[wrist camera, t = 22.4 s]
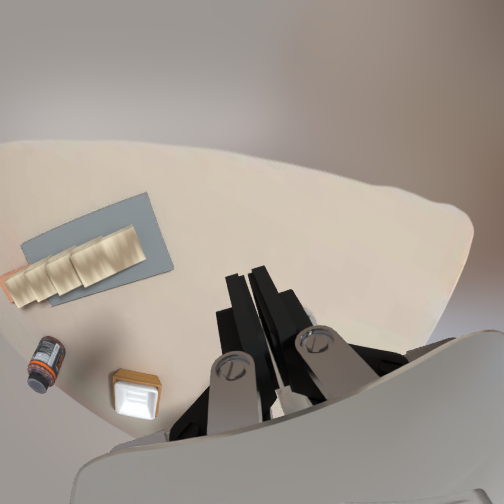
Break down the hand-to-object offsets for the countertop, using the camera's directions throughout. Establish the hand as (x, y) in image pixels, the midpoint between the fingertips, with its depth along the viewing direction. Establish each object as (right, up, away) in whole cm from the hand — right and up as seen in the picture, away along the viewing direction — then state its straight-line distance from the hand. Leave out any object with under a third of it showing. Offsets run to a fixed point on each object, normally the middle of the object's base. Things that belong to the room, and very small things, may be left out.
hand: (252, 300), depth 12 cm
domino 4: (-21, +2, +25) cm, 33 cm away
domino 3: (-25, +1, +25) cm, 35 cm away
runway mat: (-25, +2, +27) cm, 36 cm away
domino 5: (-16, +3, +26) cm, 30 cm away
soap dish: (-24, -26, +40) cm, 54 cm away
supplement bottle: (-40, -17, +32) cm, 53 cm away
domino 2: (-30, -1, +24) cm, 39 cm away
